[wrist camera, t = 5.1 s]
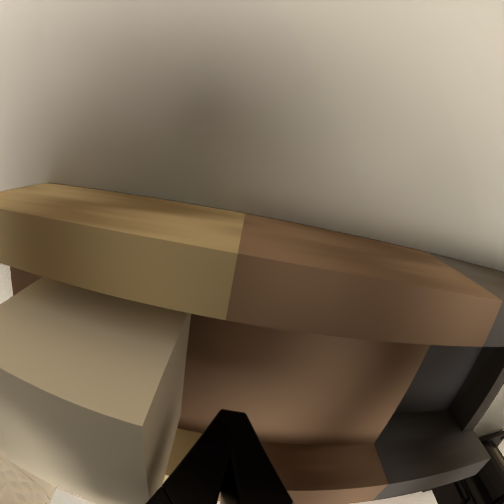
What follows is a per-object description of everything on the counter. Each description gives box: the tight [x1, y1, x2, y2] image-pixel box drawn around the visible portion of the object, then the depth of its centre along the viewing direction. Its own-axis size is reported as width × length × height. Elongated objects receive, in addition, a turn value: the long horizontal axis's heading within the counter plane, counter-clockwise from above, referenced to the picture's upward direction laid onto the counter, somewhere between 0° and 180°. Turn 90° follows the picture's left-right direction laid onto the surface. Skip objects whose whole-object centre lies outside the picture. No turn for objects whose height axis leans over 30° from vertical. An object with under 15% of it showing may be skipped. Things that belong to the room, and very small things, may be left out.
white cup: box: [0, 445, 56, 504], centre depth 12 cm, size 8×8×10 cm
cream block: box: [0, 277, 191, 504], centre depth 7 cm, size 5×5×5 cm
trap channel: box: [0, 183, 504, 504], centre depth 10 cm, size 23×10×5 cm, turn 79°
